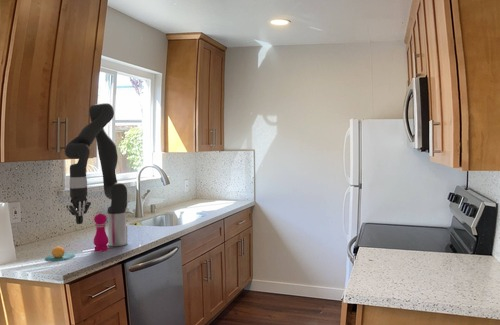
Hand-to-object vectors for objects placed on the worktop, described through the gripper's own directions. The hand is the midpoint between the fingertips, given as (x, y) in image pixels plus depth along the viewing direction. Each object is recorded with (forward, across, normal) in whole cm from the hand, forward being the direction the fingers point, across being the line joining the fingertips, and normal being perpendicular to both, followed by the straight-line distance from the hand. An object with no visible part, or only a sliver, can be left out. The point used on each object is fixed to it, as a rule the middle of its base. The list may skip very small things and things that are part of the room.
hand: (79, 223), depth 191 cm
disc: (+17, 0, -13) cm, 21 cm away
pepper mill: (+17, -18, -4) cm, 25 cm away
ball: (+14, +1, -13) cm, 19 cm away
